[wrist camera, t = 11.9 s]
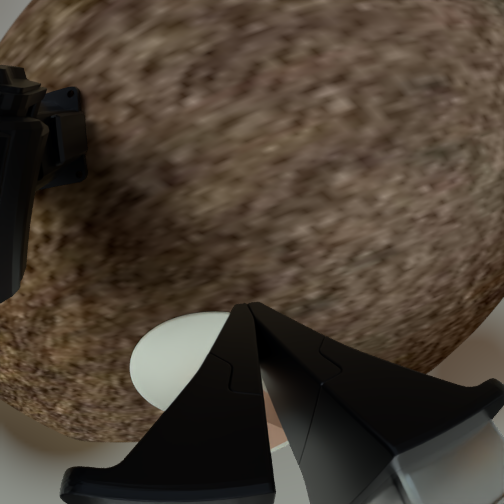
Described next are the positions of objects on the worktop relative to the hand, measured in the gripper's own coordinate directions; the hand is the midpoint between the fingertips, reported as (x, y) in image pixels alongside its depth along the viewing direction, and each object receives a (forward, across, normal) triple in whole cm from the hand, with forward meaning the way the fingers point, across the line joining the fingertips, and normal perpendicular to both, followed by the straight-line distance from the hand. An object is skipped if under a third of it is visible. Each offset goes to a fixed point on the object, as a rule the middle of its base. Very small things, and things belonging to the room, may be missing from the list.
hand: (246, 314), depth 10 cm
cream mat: (+12, -2, -17) cm, 21 cm away
